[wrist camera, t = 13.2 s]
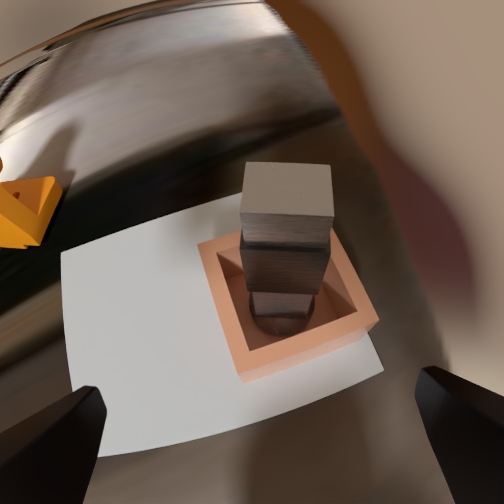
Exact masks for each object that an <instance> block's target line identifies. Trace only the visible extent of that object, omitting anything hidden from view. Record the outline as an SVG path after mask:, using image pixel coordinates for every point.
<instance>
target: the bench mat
mask: <svg viewBox="0 0 504 504" xmlns="http://www.w3.org/2000/svg"><path fill="white" fill-rule="evenodd" d="M241 197H242V193H238V194H235V195H231V196H228V197H225V198H221V199H218V200H215V201H211V202H208V203H205V204H201V205H198V206H195V207H192V208H189V209H185V210H182V211H179V212H176V213H173V214H170V215H167V216H164V217H161V218H158V219H155V220H152V221H149V222H146V223H143V224H140V225H137V226H134V227H131V228H128V229H125V230H122V231H119V232H117V233H114V234H111V235H108V236H105V237H102V238H100V239H97V240H94V241H91V242H89V243H86V244H83V245H81V246H78V247H75V248H73V249H70V250H67V251H65V252H62V253H61V280H62V302H63V317H64V329H65V339H66V348H67V356H68V363H69V370H70V377H71V383H72V389H73V392H74V391H75V390H77V389H79V388H80V387H82V386H84V385H89V386H96V387H98V389H99V390H100V392H101V395H102V398H103V400H104V403H105V405H106V408H107V418H106V422H105V426H104V431H103V435H102V440H101V444H100V449H99V453H98V457H102V456H110V455H117V454H124V453H130V452H136V451H142V450H148V449H153V448H158V447H163V446H168V445H173V444H177V443H182V442H186V441H190V440H195V439H199V438H203V437H207V436H210V435H214V434H218V433H222V432H225V431H229V430H232V429H236V428H239V427H242V426H246V425H249V424H252V423H255V422H258V421H261V420H264V419H267V418H270V417H273V416H276V415H279V414H282V413H285V412H288V411H290V410H293V409H296V408H298V407H301V406H304V405H306V404H309V403H312V402H314V401H317V400H319V399H322V398H324V397H327V396H329V395H331V394H334V393H336V392H338V391H341V390H343V389H345V388H348V387H350V386H352V385H354V384H357V383H359V382H361V381H363V380H365V379H367V378H370V377H372V376H374V375H376V374H378V373H380V372H382V371H384V369H383V366H382V364H381V362H380V359H379V357H378V355H377V353H376V350H375V348H374V346H373V344H372V341H371V339H370V337H369V335H368V333H366V334H365V335H364V336H363V337H362V338H361V339H360V340H359V341H356V342H354V343H352V344H349V345H347V346H345V347H342V348H340V349H338V350H335V351H333V352H330V353H328V354H325V355H323V356H320V357H318V358H315V359H313V360H310V361H307V362H305V363H302V364H300V365H297V366H294V367H291V368H289V369H286V370H283V371H280V372H278V373H275V374H272V375H269V376H266V377H263V378H260V379H257V380H254V381H251V382H248V383H245V384H244V383H243V382H242V380H241V379H240V377H239V376H238V374H237V371H236V368H235V365H234V362H233V359H232V356H231V353H230V350H229V347H228V344H227V341H226V338H225V335H224V332H223V328H222V325H221V322H220V319H219V316H218V313H217V309H216V306H215V303H214V300H213V297H212V293H211V290H210V287H209V283H208V280H207V277H206V273H205V270H204V267H203V263H202V260H201V257H200V253H199V250H198V246H197V244H199V243H203V242H206V241H209V240H212V239H215V238H218V237H222V236H225V235H228V234H231V233H235V232H238V231H241V230H242V225H241V219H240V213H239V212H240V205H241Z"/></svg>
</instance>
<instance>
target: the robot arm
mask: <svg viewBox="0 0 504 504" xmlns="http://www.w3.org/2000/svg"><path fill="white" fill-rule="evenodd" d="M415 399H416V402H417V405H418V408H419V411H420V414H421V417H422V421H423V424H424V427H425V430H426V433H427V436H428V439H429V442H430V444H431V446H432V449H433V451H434V453H435V455H436V458H437V460H438V462H439V465H440V467H441V469H442V472H443V474H444V477H445V479H446V482H447V484H448V486H449V489H450V491H451V494H452V496H453V499H454V502H455V504H504V396H501V395H499V394H497V393H494V392H492V391H490V390H488V389H486V388H483V387H481V386H479V385H476V384H474V383H472V382H470V381H468V380H465V379H463V378H461V377H459V376H457V375H454V374H452V373H450V372H448V371H446V370H443V369H441V368H439V367H437V366H434V365H433V366H428V367H423V368H422V369H421V370H420V372H419V375H418V379H417V384H416V387H415ZM106 418H107V408H106V405H105V403H104V400H103V398H102V395H101V392H100V390H99V389H98V387H96V386H89V385H84V386H82V387H80V388H79V389H77V390H75V391H74V392H72V393H70V394H68V395H67V396H65V397H63V398H61V399H60V400H58V401H56V402H54V403H53V404H51V405H49V406H47V407H46V408H44V409H42V410H40V411H39V412H37V413H35V414H33V415H31V416H30V417H28V418H26V419H24V420H22V421H21V422H19V423H17V424H15V425H13V426H12V427H10V428H8V429H6V430H4V431H3V432H1V433H0V504H83V501H84V498H85V495H86V491H87V488H88V485H89V482H90V479H91V476H92V473H93V470H94V467H95V464H96V460H97V457H98V453H99V449H100V444H101V440H102V435H103V431H104V426H105V422H106Z"/></svg>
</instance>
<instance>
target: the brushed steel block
mask: <svg viewBox="0 0 504 504" xmlns="http://www.w3.org/2000/svg"><path fill="white" fill-rule="evenodd" d="M239 213H240V219H241V225H242V230H241V238H240V247H239V251H240V256H241V261H242V266H243V271H244V276H245V282H246V287H247V292H250V296H249V309H250V313H251V317H252V319H253V321H254V323H255V324H256V325H257V327H259V328H260V329H261V330H262V331H263V332H265V333H267V334H269V335H272V336H277V337H286V336H291V335H294V334H296V333H298V332H300V331H301V330H302V329H304V328H305V327H306V325H307V324H308V323H309V321H310V319H311V317H312V314H313V311H314V307H315V297H314V295H318V293H319V290H320V287H321V284H322V281H323V278H324V274H325V271H326V268H327V265H328V262H329V258H330V255H331V239H330V231H331V227H332V224H333V220H334V205H333V192H332V180H331V169H330V165H321V164H302V163H276V162H246V167H245V174H244V182H243V189H242V197H241V205H240V212H239Z"/></svg>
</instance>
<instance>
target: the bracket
mask: <svg viewBox="0 0 504 504" xmlns="http://www.w3.org/2000/svg"><path fill="white" fill-rule="evenodd" d="M2 168H3V164H2V160H1V158H0V172H1V171H2ZM62 192H63V190H62V188H61V187H60V185H59V184H58V182H57V181H56V179H55V178H54V177H53V176H49V177H40V178H31V179H22V180H14V181H7V182H1V183H0V247H8V248H24V249H27V247H28V245H36V246H40V244H41V241H42V239H43V236H44V234H45V231H46V229H47V226H48V224H49V222H50V219H51V217H52V215H53V213H54V210H55V208H56V206H57V204H58V201H59V199H60V197H61V195H62Z"/></svg>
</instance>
